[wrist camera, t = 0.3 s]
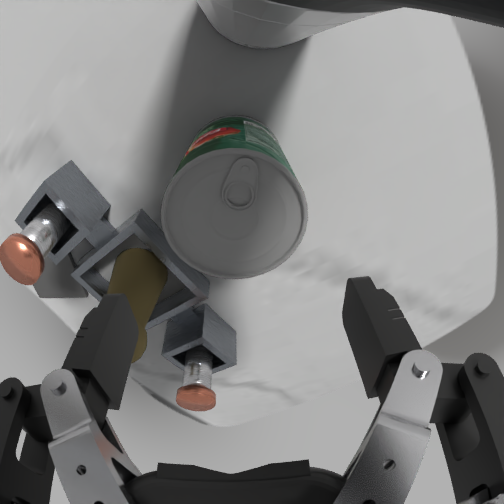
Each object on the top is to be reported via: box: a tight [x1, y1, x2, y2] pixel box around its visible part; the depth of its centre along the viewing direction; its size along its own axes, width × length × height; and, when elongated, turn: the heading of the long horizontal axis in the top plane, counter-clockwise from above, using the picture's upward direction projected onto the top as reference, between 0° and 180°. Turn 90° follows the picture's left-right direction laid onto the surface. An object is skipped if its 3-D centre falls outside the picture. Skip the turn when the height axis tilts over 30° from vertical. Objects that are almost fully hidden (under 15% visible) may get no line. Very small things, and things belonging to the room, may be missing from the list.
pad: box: [33, 252, 88, 298], centre depth 30 cm, size 8×8×1 cm
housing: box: [15, 160, 236, 374], centre depth 29 cm, size 27×11×5 cm, turn 33°
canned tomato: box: [161, 116, 308, 279], centre depth 21 cm, size 8×8×11 cm
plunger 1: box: [0, 203, 71, 285], centre depth 20 cm, size 4×4×7 cm
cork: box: [107, 248, 168, 363], centre depth 27 cm, size 6×6×11 cm
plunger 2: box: [176, 344, 216, 411], centre depth 31 cm, size 4×4×7 cm
